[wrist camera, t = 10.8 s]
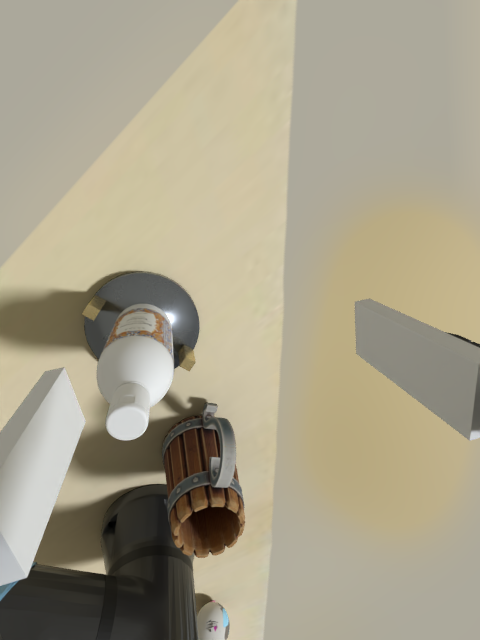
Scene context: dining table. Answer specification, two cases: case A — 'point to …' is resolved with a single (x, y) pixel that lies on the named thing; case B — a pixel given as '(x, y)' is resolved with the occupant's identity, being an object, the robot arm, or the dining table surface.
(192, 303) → the disc
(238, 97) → the dining table surface
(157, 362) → the bath foam
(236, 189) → the dining table surface
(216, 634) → the figurine
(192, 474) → the mug
